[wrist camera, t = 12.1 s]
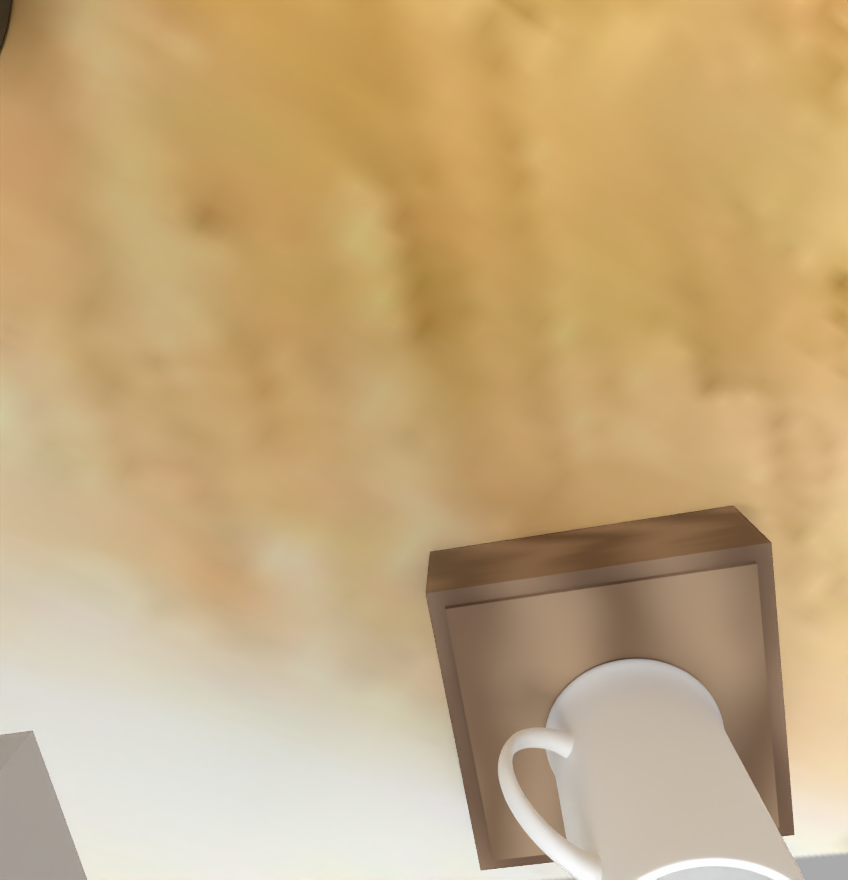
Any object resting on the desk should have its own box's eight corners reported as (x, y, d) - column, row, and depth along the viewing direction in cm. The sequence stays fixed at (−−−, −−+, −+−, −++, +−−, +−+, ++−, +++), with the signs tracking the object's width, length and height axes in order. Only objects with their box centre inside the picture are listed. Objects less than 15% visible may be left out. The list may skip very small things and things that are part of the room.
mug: (454, 727, 38) (451, 943, 26) (550, 591, 35) (593, 761, 24) (654, 837, 39) (736, 1092, 27) (758, 712, 37) (895, 930, 25)
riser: (478, 802, 45) (480, 874, 40) (429, 552, 41) (425, 596, 36) (757, 768, 43) (796, 839, 38) (733, 505, 40) (773, 545, 34)
